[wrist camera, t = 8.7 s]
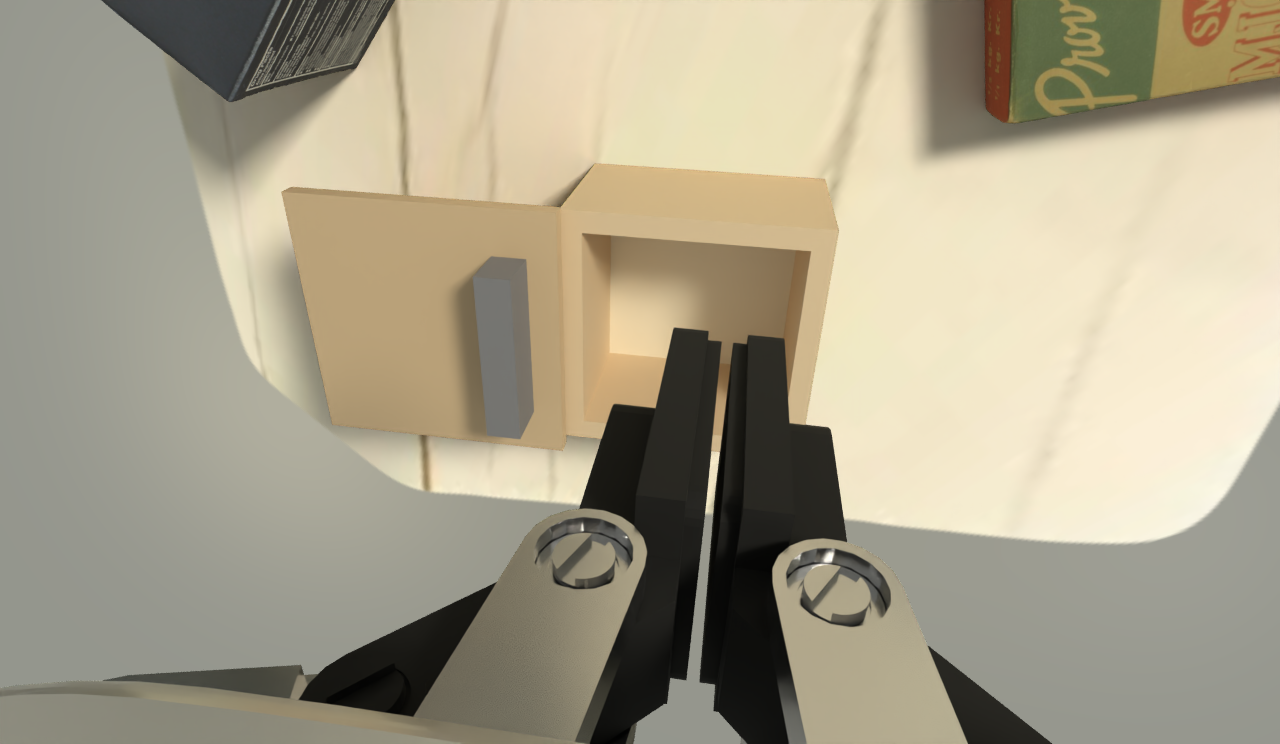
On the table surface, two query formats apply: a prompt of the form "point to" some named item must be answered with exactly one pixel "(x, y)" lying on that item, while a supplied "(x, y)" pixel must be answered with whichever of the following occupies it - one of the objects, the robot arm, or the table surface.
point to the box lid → (435, 313)
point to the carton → (1120, 51)
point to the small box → (257, 38)
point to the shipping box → (688, 280)
